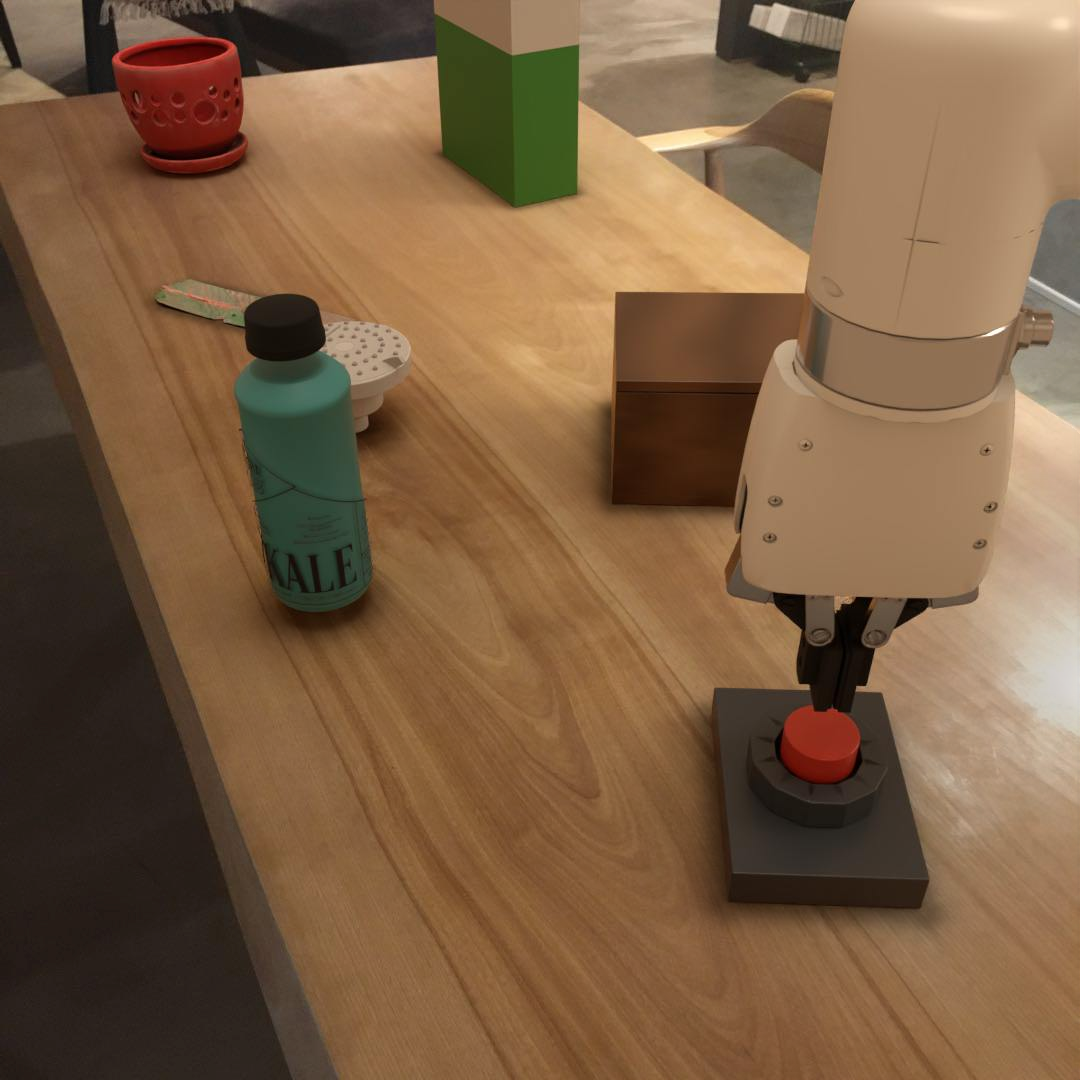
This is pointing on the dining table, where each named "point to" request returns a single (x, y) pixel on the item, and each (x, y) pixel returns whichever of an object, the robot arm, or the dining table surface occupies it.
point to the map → (218, 302)
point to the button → (819, 745)
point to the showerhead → (368, 362)
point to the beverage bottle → (303, 457)
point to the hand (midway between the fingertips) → (827, 690)
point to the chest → (678, 445)
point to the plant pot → (184, 102)
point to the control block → (812, 810)
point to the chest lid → (700, 339)
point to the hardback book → (511, 94)
